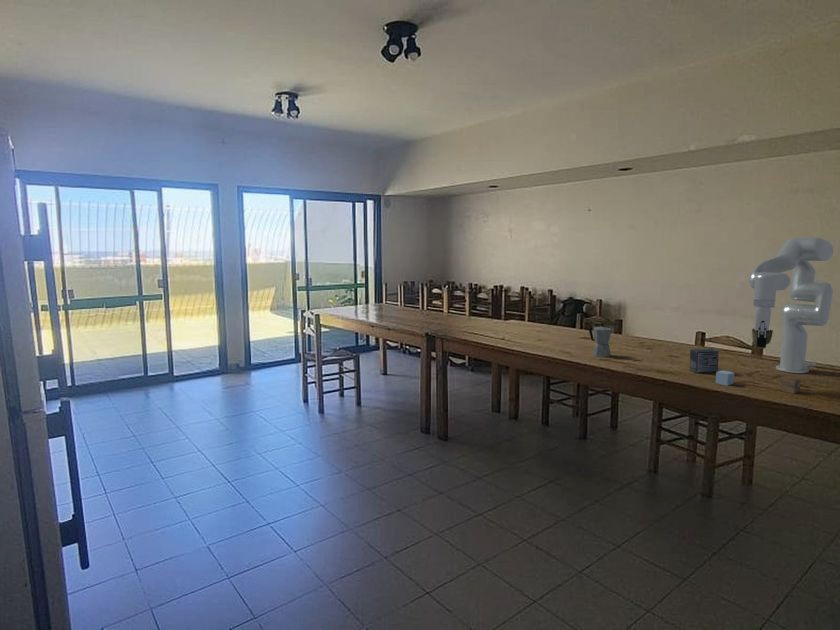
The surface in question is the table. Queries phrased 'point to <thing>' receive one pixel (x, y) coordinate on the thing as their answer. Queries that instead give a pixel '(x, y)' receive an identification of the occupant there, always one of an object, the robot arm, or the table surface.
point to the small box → (704, 360)
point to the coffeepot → (601, 340)
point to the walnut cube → (790, 385)
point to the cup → (755, 335)
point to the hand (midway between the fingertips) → (761, 344)
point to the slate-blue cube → (725, 377)
